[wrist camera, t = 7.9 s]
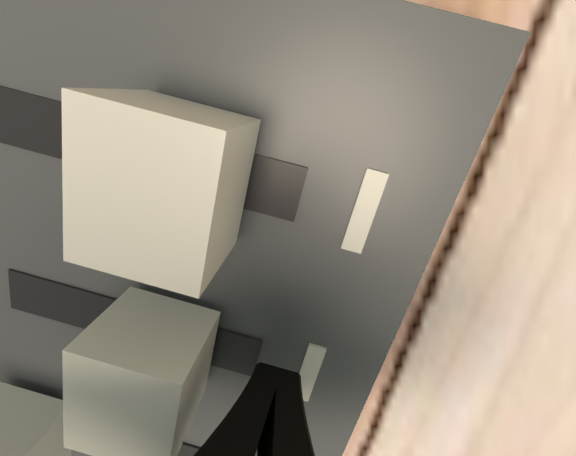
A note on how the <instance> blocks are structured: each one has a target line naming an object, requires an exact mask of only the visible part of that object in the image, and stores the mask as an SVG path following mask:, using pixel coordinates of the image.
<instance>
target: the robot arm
mask: <svg viewBox="0 0 576 456" xmlns="http://www.w3.org/2000/svg"><path fill="white" fill-rule="evenodd" d="M256 452H257V456H315V454H314V450H313V446H312V441H311V437H310V433H309V428H308V424H307V419H306V414H305V408H304V402H303V395H302V386H301V376H300V374H299V373H297V372H294V371H290V370H287V369H283V368H280V367H276V366H273V365H269V364H266V363H262V362H260V363H257V364H256V366H255V369H254V371H253V373H252V376H251V378H250V379H249V381H248V383H247V385H246V386H245V388H244V390H243V391H242V393H241V395H240V396H239V398H238V399H237V400H236V402H235V403H234V405H233V406H232V408H231V409H230V411H229V412H228V414H227V415H226V416H225V418H224V419H223V420H222V422H221V423H220V424H219V425H218V427H217V428H216V429H215V430H214V432H213V433H212V434H211V435H210V437H209V438H208V439H207V440H206V442H205V443H204V444H203V445H202V446H201V448H200V449H199V450H198V451H197V452H196V453H195V454H194V456H255V455H256Z"/></svg>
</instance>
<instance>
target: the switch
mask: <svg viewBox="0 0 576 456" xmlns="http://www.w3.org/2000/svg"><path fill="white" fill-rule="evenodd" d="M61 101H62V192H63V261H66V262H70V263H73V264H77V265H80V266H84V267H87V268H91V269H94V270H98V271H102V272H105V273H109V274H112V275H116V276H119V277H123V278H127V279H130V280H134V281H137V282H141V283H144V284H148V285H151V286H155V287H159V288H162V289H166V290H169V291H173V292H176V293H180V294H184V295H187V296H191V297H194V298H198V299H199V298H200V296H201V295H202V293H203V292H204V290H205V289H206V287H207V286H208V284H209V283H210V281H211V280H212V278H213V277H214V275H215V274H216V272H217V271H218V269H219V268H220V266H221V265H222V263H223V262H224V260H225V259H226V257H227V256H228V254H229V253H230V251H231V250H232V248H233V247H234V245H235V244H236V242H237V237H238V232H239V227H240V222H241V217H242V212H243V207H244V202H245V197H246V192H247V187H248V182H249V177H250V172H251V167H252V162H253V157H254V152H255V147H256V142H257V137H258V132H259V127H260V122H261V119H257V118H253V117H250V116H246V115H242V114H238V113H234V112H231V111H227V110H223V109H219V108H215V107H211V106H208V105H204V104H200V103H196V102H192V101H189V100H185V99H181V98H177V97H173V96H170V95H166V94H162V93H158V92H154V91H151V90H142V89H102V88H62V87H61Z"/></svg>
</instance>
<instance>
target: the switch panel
mask: <svg viewBox="0 0 576 456" xmlns="http://www.w3.org/2000/svg"><path fill="white" fill-rule="evenodd" d="M529 34H530V32H528V31H524V30H520V29H516V28H512V27H508V26H504V25H500V24H496V23H492V22H488V21H484V20H480V19H476V18H472V17H468V16H464V15H460V14H456V13H452V12H448V11H444V10H440V9H436V8H432V7H428V6H424V5H420V4H416V3H412V2H408V1H404V0H0V382H3V383H6V384H10V385H13V386H17V387H20V388H23V389H27V390H30V391H34V392H37V393H40V394H44V395H47V396H51V397H54V398H57V399H61V400H63V371H62V350H63V349H64V348H65V347H66V346H67V345H69V344H70V343H71V342H72V341H73V340H74V339H75V338H76V337H77V336H78V335H79V334H80V333H81V332H82V331H83V330H85V329H86V328H87V327H88V326H89V325H90V324H91V323H92V322H93V321H94V320H95V319H96V318H97V317H98V316H99V315H101V314H102V313H103V312H104V311H105V310H106V309H107V308H108V307H109V306H110V305H111V304H112V303H113V302H114V301H115V300H117V299H118V298H119V297H120V296H121V295H122V294H123V293H124V292H125V291H126V290H127V289H128V288H129V287H130V286H131V287H135V288H138V289H142V290H145V291H149V292H152V293H156V294H160V295H163V296H167V297H170V298H174V299H177V300H181V301H184V302H188V303H192V304H195V305H199V306H202V307H206V308H209V309H213V310H216V311H220V312H221V314H220V319H219V324H218V329H217V334H216V339H215V344H214V349H213V354H212V359H211V364H210V369H209V374H208V379H207V384H206V389H205V393H204V395H203V397H202V400H201V402H200V404H199V407H198V409H197V411H196V413H195V416H194V418H193V420H192V423H191V425H190V427H189V429H188V432H187V434H186V436H185V439H184V441H183V443H182V445H181V448H180V450H179V452H178V454H177V456H194V454H195V453H196V452H197V451H198V450H199V449H200V448H201V446H202V445H203V444H204V443H205V442H206V440H207V439H208V438H209V437H210V435H211V434H212V433H213V432H214V430H215V429H216V428H217V427H218V425H219V424H220V423H221V422H222V420H223V419H224V418H225V416H226V415H227V414H228V412H229V411H230V409H231V408H232V406H233V405H234V403H235V402H236V400H237V399H238V398H239V396H240V395H241V393H242V391H243V390H244V388H245V386H246V385H247V383H248V381H249V379H250V378H251V376H252V373H253V371H254V369H255V366H256V364H257V363H260V362H262V363H266V364H269V365H273V366H276V367H280V368H283V369H287V370H290V371H294V372H297V373H299V374H300V376H301V386H302V395H303V402H304V408H305V414H306V419H307V424H308V428H309V433H310V437H311V441H312V446H313V450H314V454H315V456H342V454H343V452H344V450H345V447H346V445H347V443H348V441H349V438H350V436H351V434H352V432H353V429H354V427H355V425H356V423H357V420H358V418H359V416H360V414H361V411H362V409H363V407H364V405H365V403H366V400H367V398H368V396H369V394H370V391H371V389H372V387H373V385H374V382H375V380H376V378H377V376H378V373H379V371H380V369H381V367H382V364H383V362H384V360H385V358H386V355H387V353H388V351H389V349H390V346H391V344H392V342H393V340H394V337H395V335H396V333H397V331H398V328H399V326H400V324H401V322H402V319H403V317H404V315H405V313H406V310H407V308H408V306H409V304H410V301H411V299H412V297H413V295H414V292H415V290H416V288H417V286H418V283H419V281H420V279H421V277H422V274H423V272H424V270H425V268H426V265H427V263H428V261H429V259H430V256H431V254H432V252H433V250H434V247H435V245H436V243H437V241H438V238H439V236H440V234H441V232H442V229H443V227H444V225H445V223H446V220H447V218H448V216H449V214H450V211H451V209H452V207H453V205H454V203H455V200H456V198H457V196H458V194H459V191H460V189H461V187H462V185H463V182H464V180H465V178H466V176H467V173H468V171H469V169H470V167H471V164H472V162H473V160H474V158H475V155H476V153H477V151H478V149H479V146H480V144H481V142H482V140H483V137H484V135H485V133H486V131H487V128H488V126H489V124H490V122H491V119H492V117H493V115H494V113H495V110H496V108H497V106H498V104H499V101H500V99H501V97H502V95H503V92H504V90H505V88H506V86H507V83H508V81H509V79H510V77H511V74H512V72H513V70H514V68H515V65H516V63H517V61H518V59H519V56H520V54H521V52H522V50H523V47H524V45H525V43H526V41H527V38H528V36H529ZM61 87H62V88H102V89H142V90H151V91H154V92H158V93H162V94H166V95H170V96H173V97H177V98H181V99H185V100H189V101H192V102H196V103H200V104H204V105H208V106H211V107H215V108H219V109H223V110H227V111H231V112H234V113H238V114H242V115H246V116H250V117H253V118H257V119H261V122H260V127H259V132H258V137H257V142H256V147H255V152H254V157H253V162H252V167H251V172H250V177H249V182H248V187H247V192H246V197H245V202H244V207H243V212H242V217H241V222H240V227H239V232H238V237H237V242H236V244H235V245H234V247H233V248H232V250H231V251H230V253H229V254H228V256H227V257H226V259H225V260H224V262H223V263H222V265H221V266H220V268H219V269H218V271H217V272H216V274H215V275H214V277H213V278H212V280H211V281H210V283H209V284H208V286H207V287H206V289H205V290H204V292H203V293H202V295H201V296H200V298H199V299H198V298H194V297H191V296H187V295H184V294H180V293H176V292H173V291H169V290H166V289H162V288H159V287H155V286H151V285H148V284H144V283H141V282H137V281H134V280H130V279H127V278H123V277H119V276H116V275H112V274H109V273H105V272H102V271H98V270H94V269H91V268H87V267H84V266H80V265H77V264H73V263H70V262H66V261H63V192H62V101H61ZM71 456H91V455H88V454H84V453H81V452H77V451H74V450H71ZM255 456H257V452H256V455H255Z"/></svg>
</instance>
